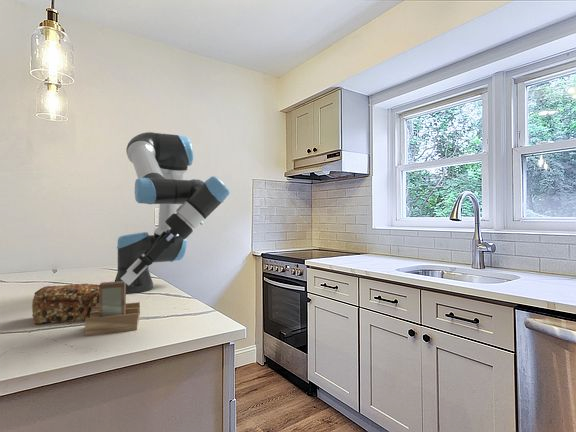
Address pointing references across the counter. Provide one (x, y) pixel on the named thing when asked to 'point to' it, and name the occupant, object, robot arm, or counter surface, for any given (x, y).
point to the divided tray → (113, 321)
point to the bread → (65, 303)
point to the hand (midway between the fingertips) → (127, 277)
